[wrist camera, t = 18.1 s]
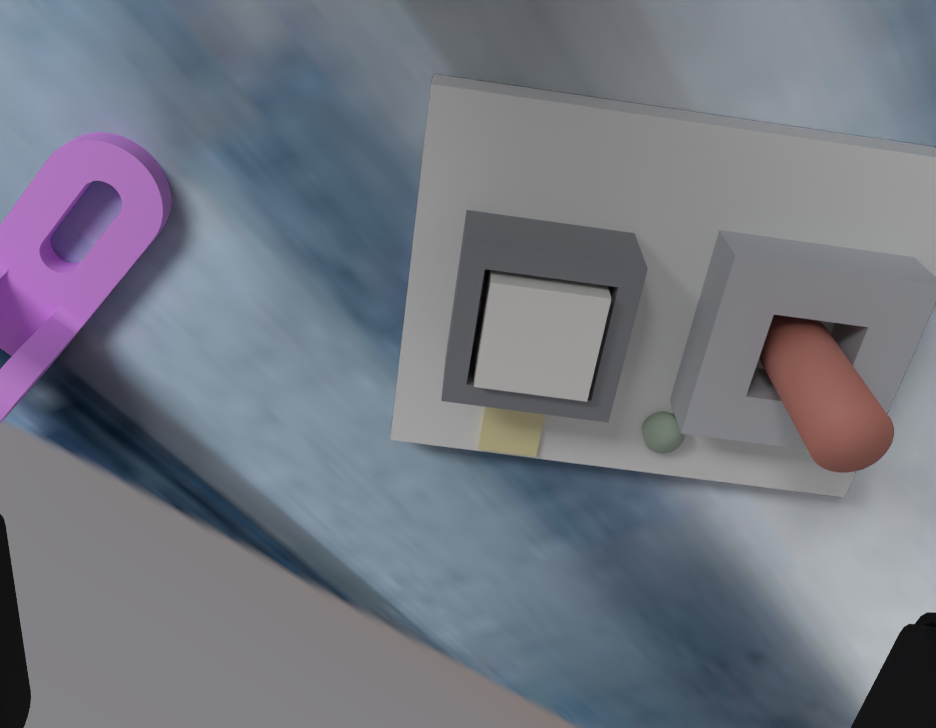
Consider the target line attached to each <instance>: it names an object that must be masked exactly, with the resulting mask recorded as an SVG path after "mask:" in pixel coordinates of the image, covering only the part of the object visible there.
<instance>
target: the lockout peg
mask: <svg viewBox="0 0 936 728" xmlns="http://www.w3.org/2000/svg"><path fill="white" fill-rule="evenodd" d="M759 359H760V361H761V363H762V365H763V367H764V369H765V370H766V372H767V374H768V376H769V378H770V380H771V382H772V384H773V385H774V387H775V389H776V391H777V393H778V395H779V397H780V399H781V401H782V402H783V404H784V406H785V408H786V410H787V412H788V414H789V416H790V417H791V419H792V421H793V423H794V425H795V427H796V429H797V431H798V432H799V434H800V436H801V438H802V440H803V442H804V444H805V446H806V448H807V449H808V451H809V453H810V455H811V457H812V459H813V460H814V461H815V462H816V463H817V464H818V465H819V466H821V467H822V468H824V469H826V470H829V471H833V472H840V473H847V472H854V471H858V470H861V469H864V468H866V467H868V466H870V465H872V464H874V463H875V462H877V461H878V460H879V459H880V458H881V457H882V456H883V455H884V454H885V453H886V452H887V450H888V449H889V447H890V445H891V443H892V440H893V436H894V428H893V424H892V421H891V419H890V418H889V416H888V415H887V413H886V412H885V411H884V409H883V408H882V406H881V405H880V404H879V402H878V401H877V399H876V398H875V396H874V395H873V394H872V392H871V391H870V389H869V388H868V387H867V385H866V384H865V382H864V381H863V379H862V378H861V377H860V375H859V374H858V372H857V371H856V370H855V368H854V367H853V365H852V364H851V363H850V361H849V360H848V358H847V357H846V355H845V354H844V353H843V351H842V350H841V348H840V347H839V346H838V344H837V343H836V341H835V340H834V339H833V337H832V336H831V334H830V333H829V331H828V330H827V329H826V327H825V326H824V324H823V323H822V322H821V321H818V320H811V319H804V318H796V317H789V316H782V315H774V316H773V318H772V321H771V324H770V327H769V330H768V333H767V336H766V339H765V342H764V345H763V348H762V351H761V354H760V357H759Z"/></svg>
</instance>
